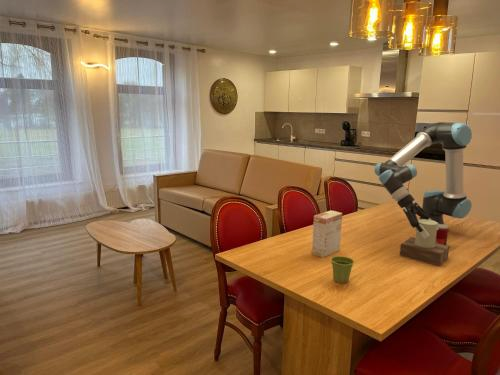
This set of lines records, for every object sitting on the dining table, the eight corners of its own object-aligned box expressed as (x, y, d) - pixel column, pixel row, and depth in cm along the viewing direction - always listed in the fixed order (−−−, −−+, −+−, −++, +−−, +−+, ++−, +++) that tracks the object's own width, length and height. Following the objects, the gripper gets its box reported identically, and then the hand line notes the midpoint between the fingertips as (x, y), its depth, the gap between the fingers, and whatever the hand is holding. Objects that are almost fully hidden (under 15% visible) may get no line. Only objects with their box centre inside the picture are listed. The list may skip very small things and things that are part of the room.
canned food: (447, 248, 192) (450, 228, 190) (431, 247, 194) (433, 227, 191) (443, 243, 199) (446, 224, 197) (427, 242, 201) (430, 222, 199)
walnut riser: (409, 248, 192) (411, 237, 190) (447, 257, 180) (449, 246, 178) (399, 255, 181) (400, 243, 180) (439, 266, 170) (440, 253, 168)
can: (434, 242, 182) (436, 219, 180) (436, 249, 174) (439, 224, 171) (413, 240, 185) (416, 217, 183) (415, 246, 177) (417, 222, 174)
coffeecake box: (328, 246, 192) (330, 210, 188) (340, 250, 187) (343, 212, 183) (310, 253, 181) (313, 215, 177) (323, 258, 176) (325, 218, 172)
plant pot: (326, 275, 158) (327, 256, 156) (348, 274, 158) (349, 255, 157) (333, 285, 148) (334, 265, 147) (356, 284, 149) (357, 264, 147)
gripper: (406, 198, 195) (433, 232, 188) (387, 206, 177) (416, 244, 170) (417, 189, 190) (446, 224, 183) (399, 197, 172) (429, 235, 165)
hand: (431, 234), depth 177 cm, fingers open, 13 cm apart
